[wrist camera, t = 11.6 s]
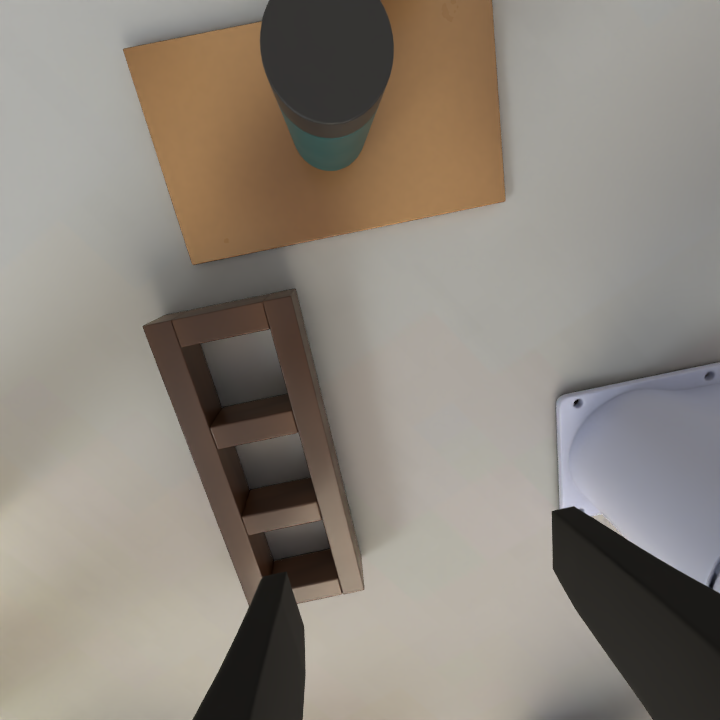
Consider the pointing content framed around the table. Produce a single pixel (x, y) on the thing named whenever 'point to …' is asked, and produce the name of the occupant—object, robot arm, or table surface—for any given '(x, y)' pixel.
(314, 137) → the teal capped bottle
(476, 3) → the cork mat
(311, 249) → the table surface
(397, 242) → the table surface
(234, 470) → the pen stand
